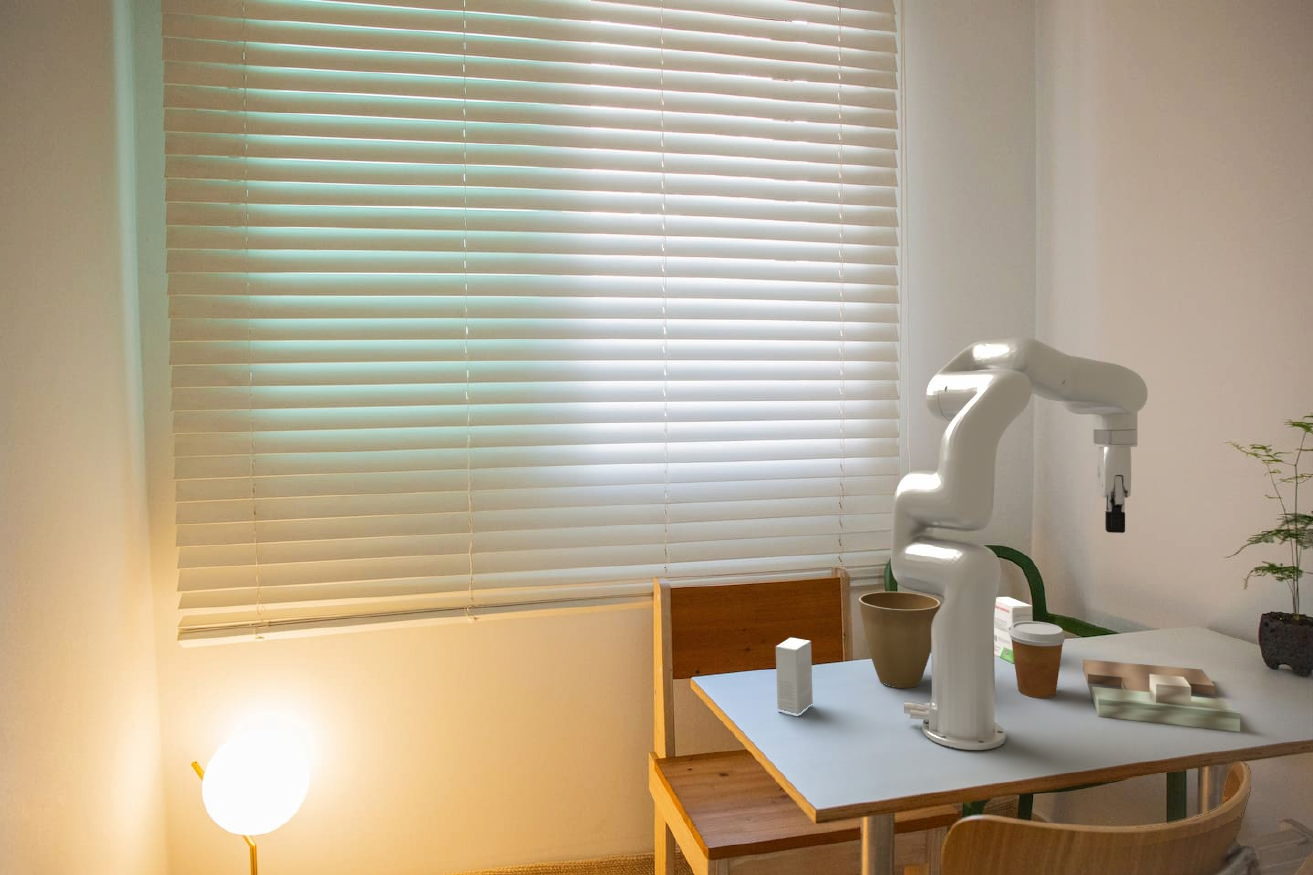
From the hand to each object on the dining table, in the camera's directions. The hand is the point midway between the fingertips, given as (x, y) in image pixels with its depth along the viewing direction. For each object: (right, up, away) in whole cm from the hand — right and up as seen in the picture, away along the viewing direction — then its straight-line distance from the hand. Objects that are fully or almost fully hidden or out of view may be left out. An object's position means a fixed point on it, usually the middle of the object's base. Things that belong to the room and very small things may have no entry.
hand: (1115, 531), depth 160 cm
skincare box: (-66, -30, -16) cm, 74 cm away
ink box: (-16, -27, +9) cm, 33 cm away
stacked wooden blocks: (-1, -28, -15) cm, 31 cm away
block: (-4, -26, -23) cm, 35 cm away
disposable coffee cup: (-20, -28, -11) cm, 36 cm away
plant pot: (-43, -29, -3) cm, 52 cm away
